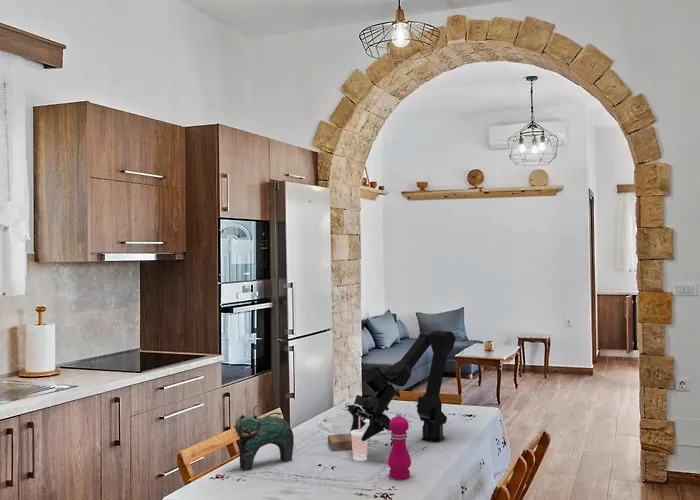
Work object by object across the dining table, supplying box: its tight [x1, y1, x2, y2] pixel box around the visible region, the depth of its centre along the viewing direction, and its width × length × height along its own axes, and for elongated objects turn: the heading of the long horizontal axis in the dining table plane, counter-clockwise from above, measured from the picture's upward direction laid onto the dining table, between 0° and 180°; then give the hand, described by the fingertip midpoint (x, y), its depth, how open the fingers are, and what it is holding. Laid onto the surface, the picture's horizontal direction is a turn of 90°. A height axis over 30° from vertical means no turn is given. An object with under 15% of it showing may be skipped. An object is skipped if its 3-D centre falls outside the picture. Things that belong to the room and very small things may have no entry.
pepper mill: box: [387, 411, 412, 480], centre depth 224 cm, size 7×7×20 cm
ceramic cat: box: [234, 404, 295, 472], centre depth 237 cm, size 20×6×20 cm, turn 122°
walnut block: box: [327, 432, 353, 452], centre depth 255 cm, size 9×9×3 cm
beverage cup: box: [350, 417, 369, 462], centre depth 241 cm, size 6×6×14 cm
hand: (356, 438), depth 240 cm, fingers closed on beverage cup, 6 cm apart
